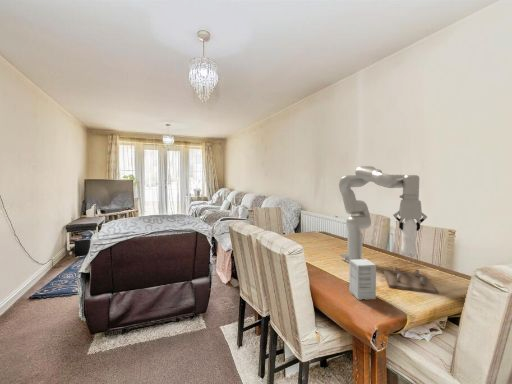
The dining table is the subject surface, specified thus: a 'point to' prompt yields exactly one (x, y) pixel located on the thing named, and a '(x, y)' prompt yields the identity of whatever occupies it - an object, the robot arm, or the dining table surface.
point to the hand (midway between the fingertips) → (409, 229)
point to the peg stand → (409, 281)
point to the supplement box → (362, 279)
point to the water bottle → (409, 238)
